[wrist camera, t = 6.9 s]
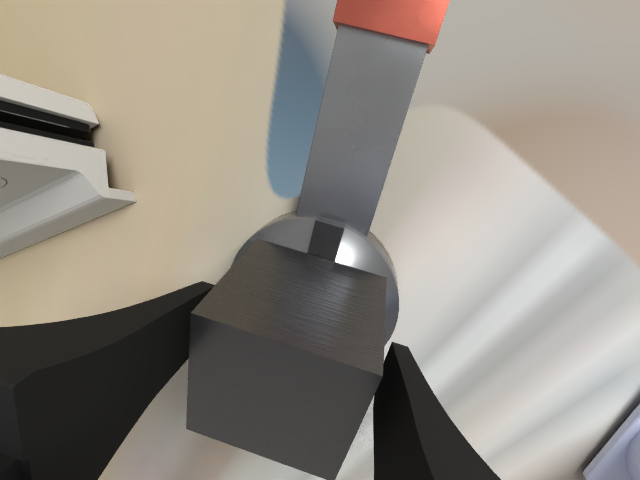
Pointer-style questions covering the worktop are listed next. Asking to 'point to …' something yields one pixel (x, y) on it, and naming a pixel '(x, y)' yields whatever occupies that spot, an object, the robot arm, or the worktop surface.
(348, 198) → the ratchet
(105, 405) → the robot arm
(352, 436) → the brushed grey cube
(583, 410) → the worktop surface
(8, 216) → the white electronic device
